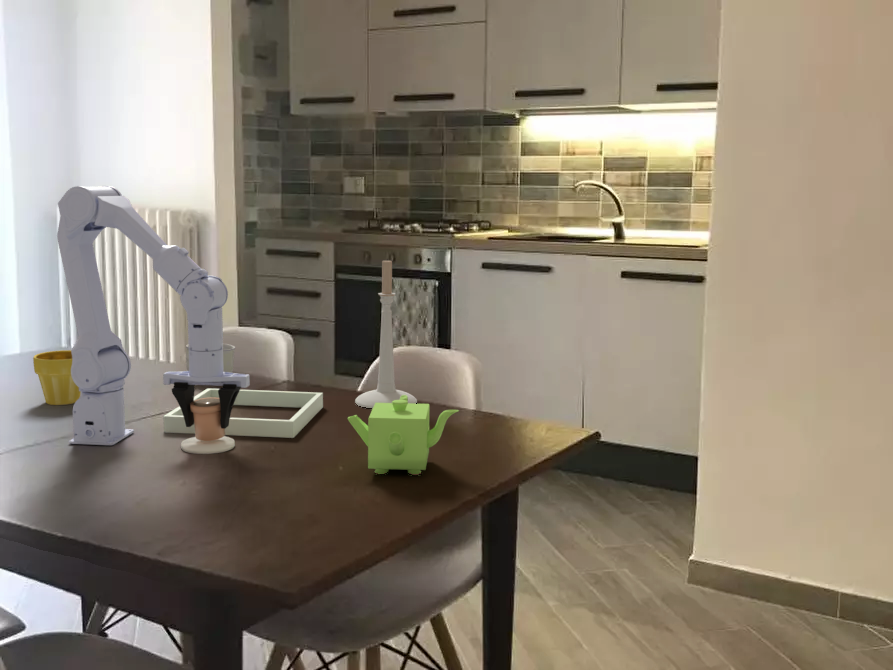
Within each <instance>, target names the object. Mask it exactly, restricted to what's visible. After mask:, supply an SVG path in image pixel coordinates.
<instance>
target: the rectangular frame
mask: <svg viewBox="0 0 893 670" xmlns="http://www.w3.org/2000/svg"><path fill="white" fill-rule="evenodd" d="M219 389H220V388H206V389H205V390H203V391H201V392H199V393H198V394H196V395H194V401H195V400H197V399H201V398H209V397H216V398H219V394H218V390H219ZM323 398H324V392H317V391H316V392H315V391H314V392H312V391H311V392H310V391H309V392H308V391H286V390H284V391H283V390H263V389H262V390H261V389H260V390H258V389H240V391H239V393H238V395H237V397H236V400H235V402H234V405H233V406H250V407H251V406H252V407H253V406H255V407H258V406H259V407H281V408H300V409H299V410H298V411H297V412H296V413H295V414H294V415H293V416H292V417H291V418H290V419H272V418H249V417H230V420H229V426H228V427H227V428H225V436H239V437H240V436H241V437H244V436H245V437H266V438H289V439H290V438H291V439H293V438H294V439H295V437H296V436H297V435H298V434H299V433H300V432H301V431H302V429H304V427H305V426H307V424H308V423H309V422H310V421H311V420H312V419H313V418H314V417H315V416H316V415H317V414H319V412H320V411H321V410H322V409H323V408H324V399H323ZM163 433H167V434H169V433H172V434H173V433H174V434H193V435H195V426H194V424H193V425H192V426H191V427H186V424H185V420H184V416H183V413H182V410H181V408H180V406H177V407H176V408H174V409H173V410H171V411H170V412H168V413H166V414H165V415H163Z"/></svg>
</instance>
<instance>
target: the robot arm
mask: <svg viewBox="0 0 893 670" xmlns="http://www.w3.org/2000/svg"><path fill="white" fill-rule="evenodd" d="M57 205H58V210H59V215H60V216H59V223H58V227H57V235H56V236H57V244H58V249H59V253H60V257H61V261H62V262H61V263H62V267H63V271H64V276H65V280H66V286H67V291H68V295H69V299H70V303H71V308H72V312H73V318H74V321H75V322H74V323H75V327H76V331H77V335H78V338H77V340H76V341H75V343H74V344H73V346H72V348H71V349H70V350H71V353H72V366H71V376H72V379H73V381H74V383H75V384H76V385H77V386H78V387H79V391H81V395H80V398H79V399H78V400H77V401H76V402H75V403H73V408H72V429H73V431H72V432H73V438H72V439H70V440H68V443H69V444H72V445H93V446H95V445H97V446H114V445H116V444H117V443H118V442H120V441H122V440H123V439H125V438H127V437H129V436H130V435H131V434H133V433H134V432H135V429H133V428H132V429H131V428H126V418H125V417H126V414H125V388H124V386H125V383H126V382H125V379H126V378H127V377H128V376H129V374H130V373H131V369H132V363H131V362H132V361H131V359H130V356H129V355H128V354H127V351H126V350H125V349H124V347H123V343H122V338H120V337H119V336H118V335H117V334H116V333H114V332H113V331H112V329H111V325H110V319H109V316H108V311H107V305H106V302H105V301H106V300H105V297H104V291H103V287H102V282H101V277H100V272H99V268H98V264H97V259H96V254H95V250H94V245H93V243H94V241H96V239H97V237H99V235H100V234H101V232H102V231H103V230H105V229H106V228H111V229H116V230H119V231H120V232H121V233H122V234H123V235H124V236H126V237H127V238H128V239H129V240H130V241H131V242H132V243H134V244H135V245H136V246H137V247H138V248H139V249H141V251H142V252H144V253H145V254H146V255H148V256H149V257H150V258H151V259H152V268H153V271H154V272H156V273H157V274H158V276H159V277H160V278H162V280H163V281H165V282H166V283H167V284H168V285H169V286H170V287H171V288H172V289H173V290H174V291H175V292H176V293H177V294H178V295H179V299H180V304H181V306H182V307H183V309H184V311H185V312H186V318H187V319H186V320H187V335H188V336H187V337H188V342H187V343H188V345H189V371H187V370H186V371H185V370H183V371H178V370H177V371H166V372H163V373H162V375H163V377H162V380H163V385H173V388H171V394H172V395H173V397H174V398H175V400H176V402H177V404H178V405H179V406H180V408H181V410H182V413H183V416H184V420H185V424H186V427H191V426H192V425H193V424H194V415H193V412H192V411H191V409H190V403H191V402H193V401H194V397H195V390H196V389H195V388H196V386H218V387H219V386H220V387H221V386H222V387H221V388H218V389H219V390H218V394H219V399H220V407H221V428H223V429H225V428H227V427H228V426H229V420H230V418H231V415H232V411H233V407H234V406H235V405H234V402H235V400H236V397H237V395H238V393H239V391H240V390H242V389H247V388H248V387H249V386H250V385H251V383H250V380H251V379H250V374H248V373H247V374H245V373H237V372H236V373H235V372H232V373H229V372H223V344H224V332H223V331H224V329H223V327H224V326H223V323H224V322H223V307H224V305H225V304H226V303H227V301H228V298H229V297H228V296H229V291H228V288H227V286H226V284H225V283H224V281H223V280H222V278H220V277H218V276H215V275H208V274H209V272H208V270H206V269H205V268H202V267H200V266H199V264H197V263H196V262H195V261H194V260H193V259H192V258H191V256H189V254H190V251H189V250H187V249H186V248H185V247H180V246H179V245H176V244H175V245H168V244H167V243H166V241H164V239H162V238H161V237H160V235H159V234H158V233H157V232H156V231H155V230H154V229H153V228H152V227H151V226H150V224H149V223H148V222H146V220H145V219H144V218H143V217H142V216H141V215H140V214H139V212H137V210H135V208H134V207H133V205H132V204H131V201H130V199H129V198H127V197H126V196H125V195H122V193H121V192H120V191H119V189H118V188H116V187H114V186H111V185H102V186H82V185H80V186H79V185H75V186H72V187H70V188H68V189H67V191H66V192H65V193H64V194H63V196H61V198H60V200H59V201H58V202H57ZM241 388H242V389H241ZM179 406H178V407H179Z"/></svg>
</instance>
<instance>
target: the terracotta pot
mask: <svg viewBox="0 0 893 670" xmlns="http://www.w3.org/2000/svg"><path fill="white" fill-rule="evenodd" d="M190 409H191V411H192V412H193V415H194V426H195V434H194V437H196V439H198V440H202V441H210V440H216V439H220V438H222V437H224V436H226V435H225V429H223V428H221V407H220V399H219V398H216V397H209V398H201V399H197V400H195V401H193V402H191V403H190Z"/></svg>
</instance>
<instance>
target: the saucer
mask: <svg viewBox="0 0 893 670" xmlns="http://www.w3.org/2000/svg"><path fill="white" fill-rule="evenodd" d="M235 444H236V443H235V439H234V438H233V437H229V436H227V435H225V436H224V437H222V438H220V439H216V440H210V441H202V440H198V439H196V437H195V436H192V437H189V438H187V439H184V440H182V441H181V443H180V449H181V450H182V452H185V453H190V454H196V455H198V454H199V455H210V454H211V455H212V454H218V453H219V454H220V453H224V452H228V451H230V450H233V449H234V448H235V447H236V445H235Z"/></svg>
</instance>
